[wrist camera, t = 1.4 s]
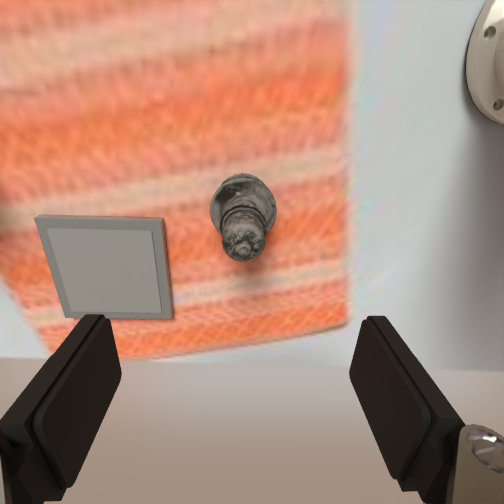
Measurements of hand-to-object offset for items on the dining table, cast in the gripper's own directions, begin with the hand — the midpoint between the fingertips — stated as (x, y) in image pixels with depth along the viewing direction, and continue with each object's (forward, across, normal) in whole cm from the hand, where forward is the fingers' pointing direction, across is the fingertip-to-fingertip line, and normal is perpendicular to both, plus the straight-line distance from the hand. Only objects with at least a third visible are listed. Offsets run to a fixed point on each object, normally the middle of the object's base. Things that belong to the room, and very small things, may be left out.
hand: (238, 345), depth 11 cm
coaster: (+20, +14, +8) cm, 25 cm away
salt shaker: (+20, 0, 0) cm, 20 cm away
